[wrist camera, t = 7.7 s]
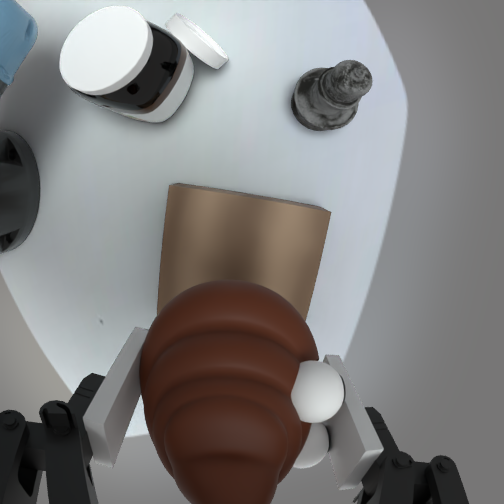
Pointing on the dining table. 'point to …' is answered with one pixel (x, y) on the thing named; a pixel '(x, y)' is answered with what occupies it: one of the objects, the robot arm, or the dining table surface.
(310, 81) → the salt shaker
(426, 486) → the robot arm
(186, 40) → the spread jar
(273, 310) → the poop emoji
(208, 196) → the walnut base
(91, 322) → the dining table surface
